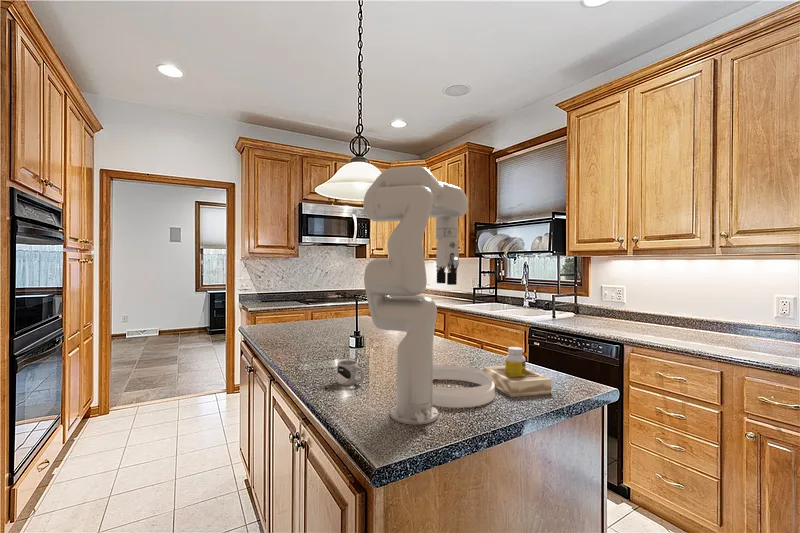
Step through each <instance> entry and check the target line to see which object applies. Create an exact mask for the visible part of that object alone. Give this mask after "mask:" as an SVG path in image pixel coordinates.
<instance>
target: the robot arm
mask: <svg viewBox="0 0 800 533" xmlns="http://www.w3.org/2000/svg"><path fill="white" fill-rule="evenodd" d="M362 207H363V212H364V215H365V216H366V217H367V218H368V219H369V220H370V221H372V222H377V223H379V222H380V223H383V222H398V224H397V225H396V226H395V228H394V229H393V230H392V232H391V234H390V235H389V237H388V239H387V243H386V246H387V252H388V258H386V257H385V258H381V257H380V258H374V259H371V260H370V261H369V262H368V263H367V264H366V267H365V269H364V273H363V274H364V275H363V276H364V277H363V283H364V289H365V290H364V291H365V294H366V299H367V303H368V309H369V312H370V316H371V317H370V318H371V320H372V323H373V325H374V326H375V327H376V328H377V329H380V330H384V331H393V332H394V331H395V332H403V333H406V335H405V336H404V337H403V338H402V339H401V341H400V342H399V343H398V345H397V347H396V348H397V349H396V393H395V394H396V400H395V401H396V403H395V404H396V405H395V406H393V407H391V409H390V413H389V414H390V415H389V416H390V417H391V419H392V420H394V421H395V422H397V423H401V424H405V425H414V426H415V425H416V426H418V425H419V426H420V425H426V424H430V423H433V422H434V421H436V420H437V419H438V418H439V411H438V409H437V408H436V407H434V406H433V405H432V396H433V386H434V384H433V382H434V380H433V366H434V338H435V330H436V329H435V328H436V323H437V316H438V309H437V308H438V307H437V305H436V302H435V301H434V300H433V299H431V298H430V297H428V296H423V295H422V294H423V293H424V292H425V290H426V287H427V282H428V281H427V270H426V264H425V263H426V262H425V256H424V248H423V240H424V234H425V232H426V228H427V225H428V223H429V219H430V218H435V240H436V239H437V241H436V257H435V258H436V260H435V263H436V267H435V268H436V283H437V284H446V285H447V286H448V285H449V286H450V285H451V286H455V285H458V284H457V283H458V282H457V281H458V278H457V274H458V267H459V265H460V256H459V255H460V254H459V252H460V251H459V249H460V248H459V241H458V238H459V237H458V236H459V234H458V233H459V232H458V231H459V218H461V217H463V216H465V215H466V214H467V212H468V210H469V200H468V197H467V194H466V193H465V191H464V190H463V189H462V188H460V187H458V186H455V185H453V184H449V183H446V182H442V181H438V179H437V178H436V177H435V176H434V175H433V173H432V172H431V171H430V170H429V169H427V168H426V167H424V166H420V165H412V166H411V165H410V166H401V167H400V166H399V167H389V168H387V169H385V170H383V171H382V172H381V173H380V174H379V175H378V176H376V179H374V181H373V183H371V185H370V186H369V188H368V189H367V190H366V191H365V195H364V197H363V203H362ZM446 269H447V273H446Z"/></svg>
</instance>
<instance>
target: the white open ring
mask: <svg viewBox="0 0 800 533" xmlns="http://www.w3.org/2000/svg"><path fill="white" fill-rule="evenodd" d="M434 379H438V380H451V381H452V380H453V381H454V380H455V381H463V382H469V383H474V384H478V386H473V387H464V388H463V387H460V388H459V387H443V386H437V385H436V386H435V385H433V396H432V406H437V407H445V408H456V409H458V408H473V407H479V406H483V405H486V404H488V403H491V402H492V401H493V400H494V399H495V397H496V387H495V384H494V382H493V381H492V377H491V375H490V374H488V373H486V372H484V370H482V369H478V368H475V367H470V366H464V365H463V366H462V365H453V364H452V365H451V364H450V365H448V364H443V365H442V364H441V365H439V364H438V365H433V381H434Z"/></svg>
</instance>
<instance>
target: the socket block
mask: <svg viewBox="0 0 800 533" xmlns="http://www.w3.org/2000/svg"><path fill="white" fill-rule="evenodd" d="M483 371H484V372H486V373H488V374H490V375H491V377H492V381H493V382H494V384H495V389H497V390H500V392H502V393H504V394H505V395H508V396H509V397H511V398H514V397H515V398H516V397H525V396H540V395H550V394H549V393H551V394H552V378H549V377H547V376H545V375H543V374H541V373H538V372H536V371H534V370H531V369H530V368H527V367H526V368H525V376H516V377H510V376H508V375H506V374H505V365H497V366H496V365H495V366H484V367H483ZM539 394H540V395H539Z"/></svg>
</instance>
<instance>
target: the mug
mask: <svg viewBox="0 0 800 533" xmlns="http://www.w3.org/2000/svg"><path fill="white" fill-rule="evenodd" d="M358 371H359V372H360V378H358ZM336 377H337V380H336V381H337V382H336V383H337V384H338V385H339V384H341V385H340V386H344V385H349V386H354V385H357V384H358V383H360V384H361V383H363V382H364V381H365V370H364V368H362V367H360V366H359V365H358V362H357V361H355V360H349V359H348V360H347V359H346V360H341V361H338V362H337V376H336ZM356 383H357V384H356ZM353 384H354V385H353Z"/></svg>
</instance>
